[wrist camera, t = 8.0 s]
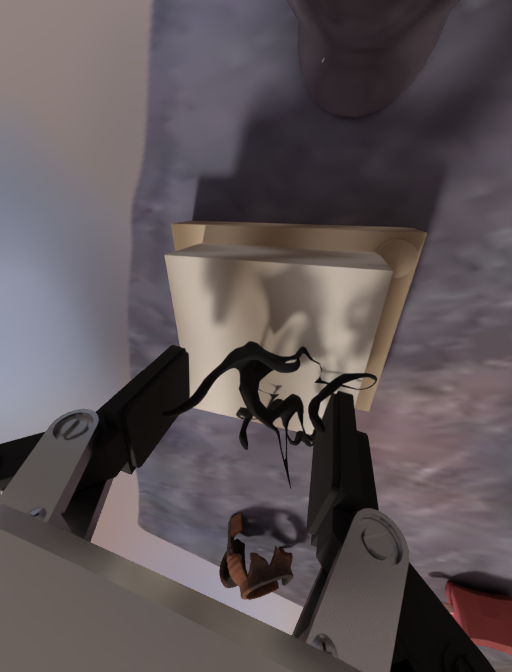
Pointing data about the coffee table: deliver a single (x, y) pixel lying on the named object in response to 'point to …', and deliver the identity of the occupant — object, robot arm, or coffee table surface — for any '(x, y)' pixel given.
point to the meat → (482, 616)
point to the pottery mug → (252, 566)
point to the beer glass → (364, 49)
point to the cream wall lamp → (289, 304)
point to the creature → (252, 370)
